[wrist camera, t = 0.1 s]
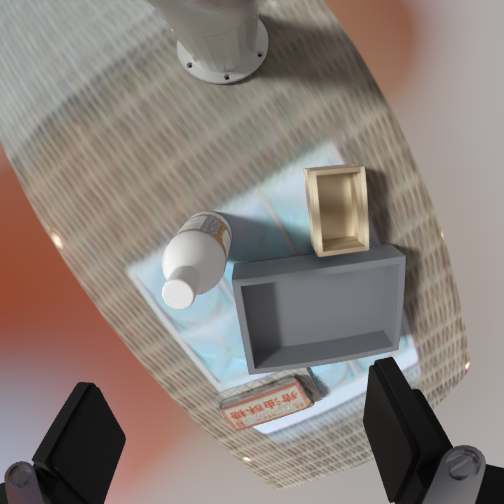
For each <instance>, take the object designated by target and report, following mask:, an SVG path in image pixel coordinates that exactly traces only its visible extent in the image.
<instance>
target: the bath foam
mask: <svg viewBox="0 0 504 504" xmlns="http://www.w3.org/2000/svg"><path fill="white" fill-rule="evenodd" d="M231 240H232V232H231V228H230V226H229V224H228V222H227V221H226V220H225V218H223V217H222V216H221V215H219V214H217V213H214V212H200V213H197V214H195V215H194V216H192V217H191V218H190V219H189V220H188V221H187V222H186V223H185V224H184V226H183V227H182V228H181V229H180V230H179V231H178V233H177V234H176V235H175V236H174V237H173V238H172V240H171V241H170V242H169V243H168V245H167V247H166V249H165V252H164V255H163V261H162V266H163V272H164V275H165V278H166V280H167V281H166V283H165V285H164V286H163V290H162V295H163V299H164V301H165V302H166V303H167V304H168V305H169V306H170V307H172V308H174V309H179V310H181V309H186V308H188V307H189V306H191V305H192V303H193V302H194V300H195V297H196V295H200V294H203V293H206V292H208V291H209V290H211V289H212V288H213V287H215V286H216V285H217V283H218V282H219V281H220V279H221V278H222V276H223V274H224V271H225V268H226V263H227V258H228V254H229V249H230V245H231Z"/></svg>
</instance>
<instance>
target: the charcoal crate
mask: <svg viewBox="0 0 504 504" xmlns="http://www.w3.org/2000/svg"><path fill="white" fill-rule="evenodd" d="M405 264H406V256H405V255H404V254H403V253H401V252H400V251H399V250H398V249H396V248H395V247H394V246H392V245H391V244H390V243H387V244H380V245H373V246H369V250H367V251H360V252H353V253H345V254H338V255H331V256H324V257H318V255H317V254H316V253H315V254H307V255H300V256H292V257H285V258H277V259H269V260H262V261H254V262H246V263H239V264H234V268H233V274H232V285H233V291H234V296H235V302H236V308H237V313H238V319H239V324H240V329H241V335H242V340H243V345H244V351H245V356H246V361H247V366H248V371H249V375H250V374H260V373H269V372H277V371H285V370H293V369H300V368H306V367H313V366H319V365H325V364H331V363H337V362H343V361H348V360H353V359H358V358H363V357H368V356H373V355H378V354H382V353H387V352H391V351H395V350H398V349H399V341H400V332H401V323H402V312H403V300H404V285H405Z"/></svg>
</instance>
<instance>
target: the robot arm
mask: <svg viewBox="0 0 504 504" xmlns="http://www.w3.org/2000/svg"><path fill="white" fill-rule="evenodd" d="M144 1H146V2H148V3H149V4H151V5H152V6H153V7H154V8H155V9H156V10H157V11H158V13H159V14H160V15H161V16H162V18H163V19H164V20H165V22H166V23H167V25H168V26H169V28H170V29H171V30H172V32H173V33H174V35H175V36H176V37H177V39H178V40H177V53H178V58H179V60H180V62H181V64H182V65H183V67H184V68H185V69H186V70H187V71H188V72H189V73H190V74H191V75H192V76H194V77H195V78H197V79H199V80H201V81H204V82H207V83H211V84H229V83H234V82H237V81H240V80H242V79H244V78H246V77H248V76H249V75H251V74H252V73H254V72H255V71H256V70H257V69H258V68H259V67H260V65H261V64H262V62H263V61H264V59H265V57H266V54H267V51H268V43H269V39H268V33H267V31H266V28H265V26H264V24H263V23H262V22H261V20H260V19H259V18H258V14H259V0H144ZM258 55H261V57H258ZM190 65H192V68H189V66H190ZM226 77H229V79H228V80H226ZM363 424H364V428H365V431H366V434H367V437H368V440H369V443H370V445H371V448H372V451H373V454H374V457H375V460H376V463H377V466H378V469H379V472H380V476H381V479H382V482H383V485H384V488H385V491H386V494H387V497H388V500H389V502H390V503H392V502H395V504H504V468H501V467H496V466H492V465H488V464H486V461H485V457H484V455H483V454H482V453H481V451H479V450H478V449H477V448H475V447H472V446H469V445H461V446H456V447H454V448H453V446H452V444H451V443H450V441H449V439H448V437H447V435H446V434H445V432H444V430H443V428H442V426H441V424H440V423H439V421H438V419H437V418H436V416H435V414H434V412H433V410H432V409H431V407H430V405H429V404H428V402H427V400H426V399H425V397H424V395H423V393H422V392H421V391H420V390H419V389H414V390H412V389H411V387H410V386H409V384H408V382H407V380H406V379H405V377H404V375H403V374H402V372H401V370H400V368H399V367H398V365H397V363H396V362H395V360H394V359H393V357H388V358H384V359H379V360H375V362H374V365H371V366H370V367H369V375H368V384H367V393H366V401H365V409H364V416H363ZM125 441H126V438H125V434H124V432H123V431H122V429H121V427H120V425H119V424H118V422H117V420H116V418H115V417H114V415H113V413H112V411H111V409H110V408H109V406H108V404H107V402H106V400H105V398H104V396H103V394H102V392H101V391H100V389H99V388H98V387H96V385H95V384H94V383H87V382H79V383H78V384H77V385H76V386H75V388H74V389H73V391H72V393H71V394H70V396H69V397H68V399H67V401H66V402H65V404H64V405H63V407H62V409H61V410H60V412H59V414H58V415H57V417H56V418H55V420H54V422H53V423H52V425H51V427H50V428H49V430H48V432H47V434H46V435H45V437H44V439H43V440H42V442H41V444H40V446H39V448H38V449H37V451H36V453H35V454H34V456H33V458H32V461H33V462H34V465H33V466H32V465H31V464H30V463H28V462H24V461H20V462H16V463H14V464H12V465H11V466H10V467H9V468H8V469H7V471H6V473H5V480H4V481H5V482H4V483H1V484H0V504H104V501H105V498H106V495H107V492H108V490H109V486H110V484H111V481H112V478H113V475H114V472H115V469H116V467H117V464H118V461H119V458H120V456H121V453H122V450H123V447H124V445H125Z"/></svg>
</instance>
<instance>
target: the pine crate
mask: <svg viewBox="0 0 504 504" xmlns="http://www.w3.org/2000/svg"><path fill="white" fill-rule="evenodd" d="M303 171H304V180H305V189H306V198H307V208H308V218H309V229H310V240H311V245H312V247H313V249H314V250H315V252H316V254H317V255H318V257H324V256H331V255H338V254H345V253H353V252H360V251H367V250H369V224H368V203H367V188H366V175H365V166H359V165H354V164H346V165H334V166H323V167H313V168H303Z"/></svg>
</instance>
